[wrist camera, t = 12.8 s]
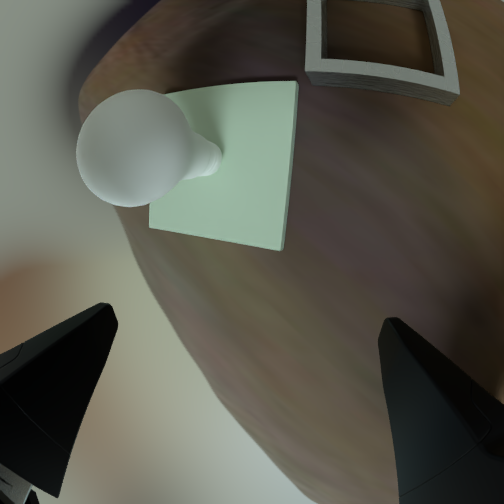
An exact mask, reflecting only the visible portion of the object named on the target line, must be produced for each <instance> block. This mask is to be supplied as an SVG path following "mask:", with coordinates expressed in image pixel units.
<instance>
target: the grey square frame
mask: <svg viewBox="0 0 504 504" xmlns="http://www.w3.org/2000/svg"><path fill="white" fill-rule="evenodd" d="M350 1H364V2H373V3H382V4H389V5H395V6H401V7H406V8H411V9H416V10H420V11H423V14H424V18H425V22H426V26H427V31H428V36H429V41H430V46H431V52H432V59H433V66H434V74H431V73H427V72H423V71H419V70H414V69H409V68H404V67H398V66H392V65H386V64H379V63H371V62H363V61H352V60H338V59H327V0H307V31H306V57H305V72H306V74H307V76H308V78H309V80H310V82H311V84H312V85H314V86H333V87H346V88H356V89H365V90H373V91H380V92H387V93H393V94H399V95H404V96H409V97H414V98H419V99H423V100H427V101H432V102H436V103H439V104H443V105H447V106H450V105H451V104H452V103H453V102H454V101H455V100H456V99H457V98H458V96H459V95H460V90H459V82H458V74H457V68H456V62H455V57H454V52H453V47H452V42H451V38H450V34H449V30H448V26H447V22H446V19H445V16H444V12H443V9H442V6H441V3H440V0H350Z"/></svg>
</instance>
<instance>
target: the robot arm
mask: <svg viewBox="0 0 504 504" xmlns="http://www.w3.org/2000/svg"><path fill="white" fill-rule="evenodd" d="M117 329H118V321H117V318H116V316H115V313H114V310H113V308H112V306H111V305H110V304H109V303H98V304H96V305H95V306H92V307H90V308H88V309H86V310H84V311H83V312H80V313H79V314H77V315H75V316H73V317H71V318H69V319H67V320H65V321H63V322H61V323H59V324H57V325H55V326H53V327H52V328H50V329H48V330H46V331H44V332H42V333H40V334H38V335H36V336H35V337H33V338H31V339H29V340H27V341H25V342H24V343H21V344H20V345H18V346H16V347H14V348H12V349H10V350H8V351H6V352H4V353H2V354H0V504H39V501H38V498H37V495H36V492H35V491H33V490H32V489H31V488H32V486H33V485H34V486H36V487H37V488H39V489H41V490H43V491H44V492H46V493H48V494H50V495H52V496H54V497H56V498H58V497H59V494H60V490H61V486H62V483H63V479H64V475H65V472H66V468H67V465H68V462H69V459H70V454H71V452H72V449H73V446H74V443H75V440H76V437H77V434H78V431H79V428H80V426H81V423H82V420H83V417H84V415H85V412H86V410H87V407H88V404H89V402H90V399H91V397H92V394H93V392H94V389H95V387H96V384H97V382H98V380H99V378H100V375H101V373H102V370H103V368H104V366H105V363H106V361H107V358H108V355H109V352H110V349H111V346H112V343H113V340H114V337H115V335H116V332H117ZM378 348H379V355H380V364H381V373H382V382H383V388H384V394H385V398H386V404H387V409H388V414H389V420H390V426H391V432H392V438H393V445H394V452H395V460H396V468H397V478H398V490H399V504H504V404H502V403H501V402H500V401H498V400H497V399H496V398H494V397H493V396H492V395H491V394H489V393H488V392H487V391H486V390H485V389H484V388H482V387H481V386H480V385H479V384H478V383H477V382H475V381H474V380H473V379H471V377H470V376H468V375H467V374H466V373H465V372H464V371H463V370H461V369H460V368H459V367H458V366H457V365H456V364H454V363H453V362H452V361H451V360H450V359H448V358H447V357H446V356H445V355H444V354H443V353H441V352H440V351H439V350H438V349H437V348H435V347H434V346H433V345H432V344H430V343H429V342H428V341H427V340H426V339H424V338H423V337H422V336H421V335H419V334H418V333H417V332H416V331H414V330H413V329H412V328H411V327H409V326H408V325H407V324H406V323H404V322H403V321H402V320H401V319H399V318H398V317H390V318H386V319H385V320H384V322H383V326H382V329H381V332H380V334H379V338H378Z"/></svg>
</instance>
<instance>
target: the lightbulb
mask: <svg viewBox="0 0 504 504" xmlns="http://www.w3.org/2000/svg"><path fill="white" fill-rule="evenodd" d="M76 159H77V165H78V169H79V172H80V175H81V177H82V179H83V181H84V182H85V184H86V185H87V187H88V188H89V189H90V190H91V191H92V192H93V193H94V194H95V195H96V196H98V197H99V198H100V199H102V200H104V201H106V202H109V203H111V204H113V205H118V206H125V207H135V206H141V205H146V204H148V203H150V202H153V201H155V200H157V199H159V198H161V197H163V196H164V195H165V194H166V193H168V192H169V191H170V190H171V189H172V188H174V187H175V186H176V185H177V184H178V183H179V181H181V180H186V179H193V178H196V177H198V176H209V175H212V174H213V173H215V172H216V171H217V170H218V169H219V167H220V165H221V162H222V153H221V150H220V148H219V147H218V146H217V145H216V144H214V143H212V142H210V141H208V140H206V139H205V138H204V137H203V136H202V135H200V134H198V133H195V132H194V131H192V130H191V127H190V125H189V123H188V121H187V119H186V117H185V115H184V113H183V111H182V110H181V109H180V108H179V107H178V105H177V104H175V103H174V102H173V101H172V100H171V99H169V98H168V97H166V96H165V95H163V94H160V93H157V92H154V91H151V90H142V89H140V90H128V91H123V92H120V93H118V94H115V95H113V96H111V97H109V98H108V99H106V100H105V101H103V102H102V103H100V104H99V105H98V106H97V107H96V108H95V109H94V110H93V111H92V112H91V113H90V115H89V116H88V118H87V119H86V121H85V122H84V124H83V126H82V128H81V131H80V133H79V137H78V141H77V148H76Z"/></svg>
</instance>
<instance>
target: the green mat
mask: <svg viewBox="0 0 504 504" xmlns="http://www.w3.org/2000/svg"><path fill="white" fill-rule="evenodd" d="M298 89H299V85H298V83H297V82H296V81H269V82H250V83H238V84H228V85H219V86H211V87H204V88H197V89H191V90H185V91H179V92H174V93H169V94H164V95H165V96H166V97H168V98H169V99H171V100H172V101H173V102H174V103H175V104H177V105H178V107H179V108H180V109H181V110H182V111H183V113H184V115H185V117H186V119H187V121H188V123H189V125H190V127H191V130H192V131H194V132H195V133H198V134H200V135H202V136H203V137H204V138H205V139H206V140H208V141H210V142H212V143H214V144H216V145H217V146H218V147H219V148H220V150H221V153H222V162H221V165H220V167H219V169H218V170H217V171H216V172H215V173H213V174H212V175H209V176H198V177H196V178H193V179H186V180H181V181H179V183H178V184H177V185H176V186H175V187H174V188H172V189H171V190H170V191H169V192H168V193H166V194H165V195H164V196H163V197H161V198H159V199H157V200H155V201H153V202H150V211H149V227H150V228H155V229H161V230H167V231H172V232H178V233H184V234H189V235H195V236H200V237H206V238H212V239H217V240H223V241H228V242H234V243H239V244H245V245H250V246H256V247H261V248H267V249H272V250H278V251H281V250H282V249H284V241H285V232H286V223H287V214H288V205H289V195H290V185H291V175H292V164H293V153H294V142H295V130H296V117H297V103H298Z"/></svg>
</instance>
